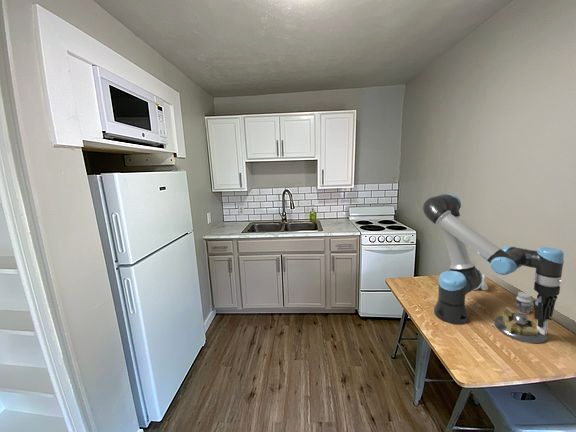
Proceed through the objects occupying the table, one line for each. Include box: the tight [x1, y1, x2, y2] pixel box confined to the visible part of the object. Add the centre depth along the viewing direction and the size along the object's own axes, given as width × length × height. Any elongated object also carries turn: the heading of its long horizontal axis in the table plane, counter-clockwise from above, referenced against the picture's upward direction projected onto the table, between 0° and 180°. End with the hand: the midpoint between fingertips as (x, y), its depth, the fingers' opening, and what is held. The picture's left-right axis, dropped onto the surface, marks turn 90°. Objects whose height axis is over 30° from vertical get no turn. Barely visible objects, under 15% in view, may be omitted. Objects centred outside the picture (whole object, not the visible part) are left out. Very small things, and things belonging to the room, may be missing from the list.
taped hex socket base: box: [501, 306, 539, 335], centre depth 112 cm, size 15×16×4 cm
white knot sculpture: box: [472, 273, 489, 291], centre depth 151 cm, size 11×12×9 cm
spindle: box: [513, 312, 529, 327], centre depth 113 cm, size 5×5×8 cm
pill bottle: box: [514, 291, 532, 315], centre depth 126 cm, size 6×6×10 cm
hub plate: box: [493, 315, 548, 345], centre depth 114 cm, size 18×18×2 cm
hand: (541, 332), depth 107 cm, fingers closed, pressing on taped hex socket base
